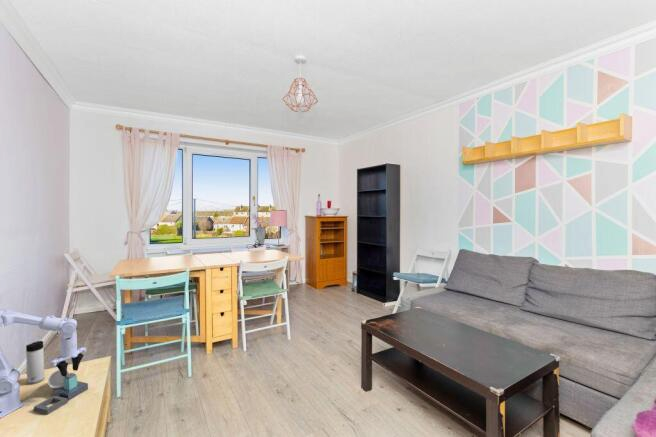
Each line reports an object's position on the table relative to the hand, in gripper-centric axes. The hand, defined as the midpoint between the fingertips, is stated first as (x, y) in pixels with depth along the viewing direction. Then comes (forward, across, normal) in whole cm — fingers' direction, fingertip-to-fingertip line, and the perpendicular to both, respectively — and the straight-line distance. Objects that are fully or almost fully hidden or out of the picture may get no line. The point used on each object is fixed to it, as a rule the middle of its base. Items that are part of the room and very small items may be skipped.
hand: (69, 373), depth 145 cm
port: (+10, 0, 0) cm, 10 cm away
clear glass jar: (+7, +4, +13) cm, 15 cm away
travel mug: (+10, +2, +26) cm, 28 cm away
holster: (+10, -10, -2) cm, 14 cm away
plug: (+10, 0, 0) cm, 10 cm away
